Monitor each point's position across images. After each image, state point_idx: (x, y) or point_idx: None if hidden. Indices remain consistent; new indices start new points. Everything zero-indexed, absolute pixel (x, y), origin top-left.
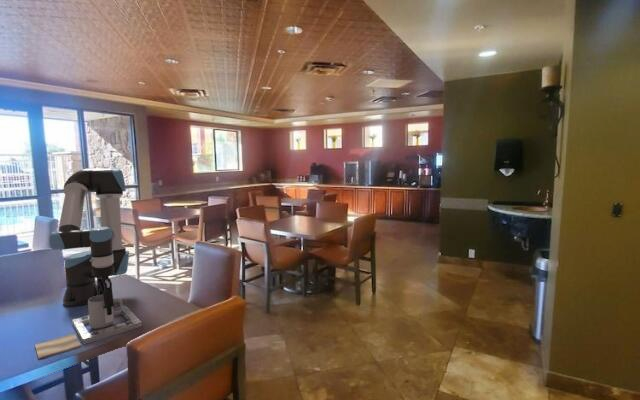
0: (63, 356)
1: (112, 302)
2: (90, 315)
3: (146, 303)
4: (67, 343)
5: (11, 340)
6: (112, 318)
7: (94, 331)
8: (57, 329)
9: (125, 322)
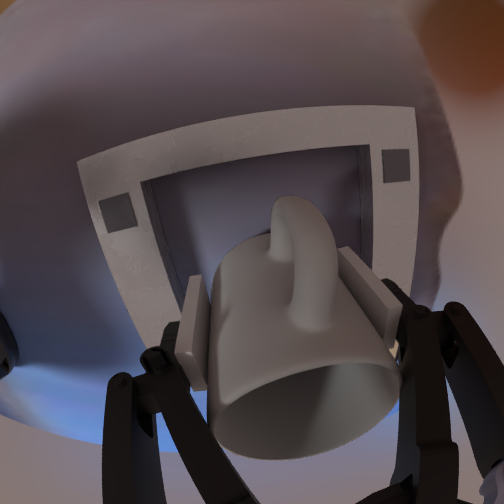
0: None
1: (473, 327)
2: (312, 375)
3: (63, 52)
4: None
5: None
6: (356, 258)
7: None
8: (196, 399)
9: (374, 180)
